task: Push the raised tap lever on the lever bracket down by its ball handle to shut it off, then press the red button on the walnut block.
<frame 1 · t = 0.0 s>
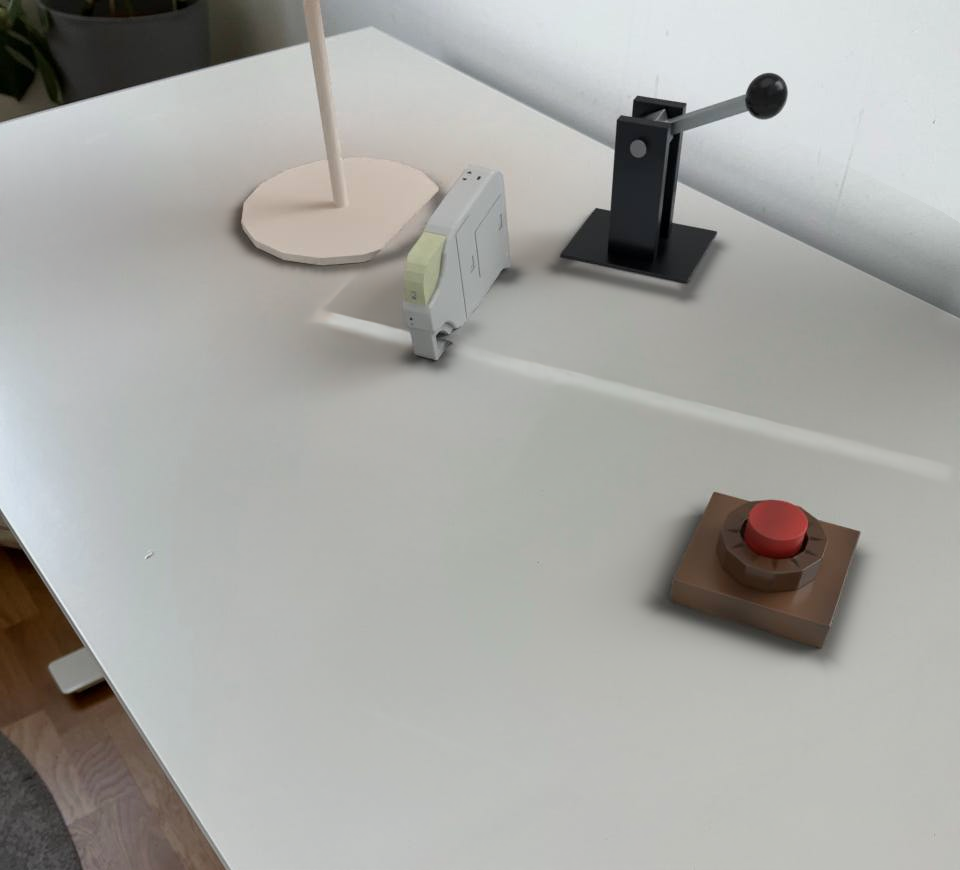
grey clip-foot housing: (461, 318, 86), on the table
desk lamp: (342, 213, 98), on the table
button block: (762, 577, 65), on the table
button: (775, 529, 62), point 4 cm above the table, slide at 0.1 cm
lever bracket: (638, 255, 91), on the table
tap lever: (707, 115, 80), point 13 cm above the table, hinge at 25.0°
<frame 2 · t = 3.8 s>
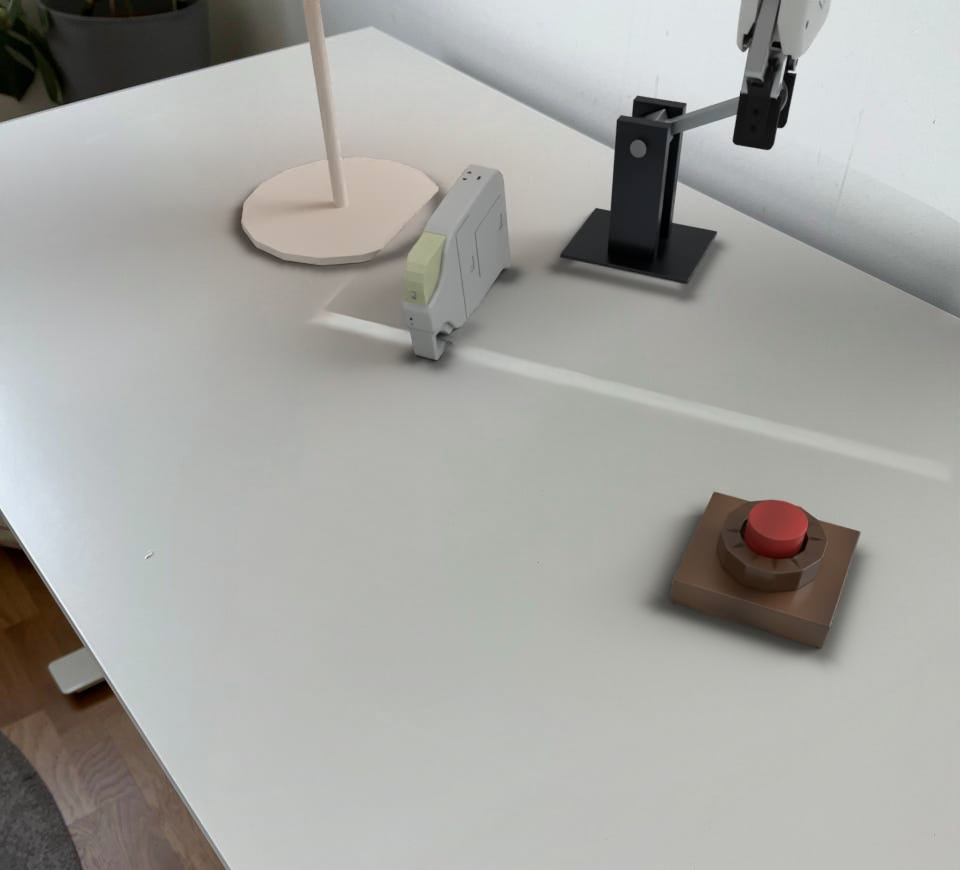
hand: (759, 132, 79), 12 cm above the table, tool pointing down, fingers closed on tap lever, 3 cm apart
tap lever: (707, 115, 80), point 13 cm above the table, hinge at 25.0°, touching gripper
everything else where it was.
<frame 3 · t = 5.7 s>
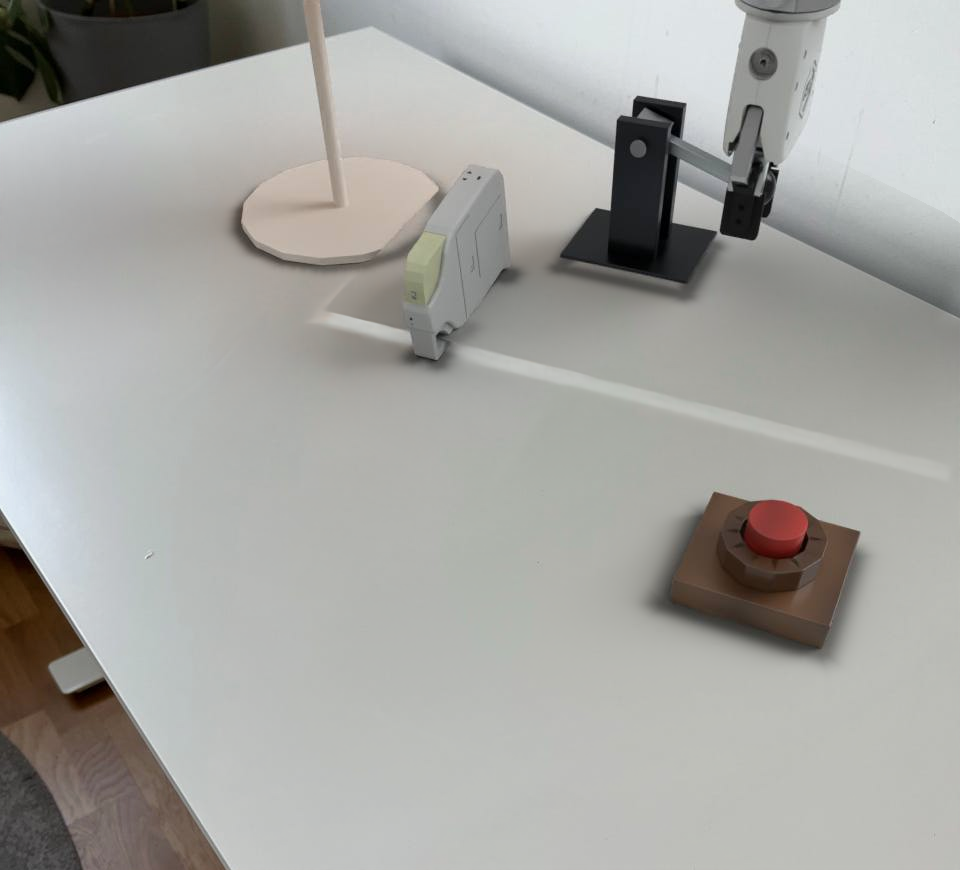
hand: (744, 222, 85), 5 cm above the table, tool pointing down, fingers closed on tap lever, 3 cm apart
tap lever: (703, 160, 82), point 10 cm above the table, hinge at -16.8°, touching gripper
everything else where it was.
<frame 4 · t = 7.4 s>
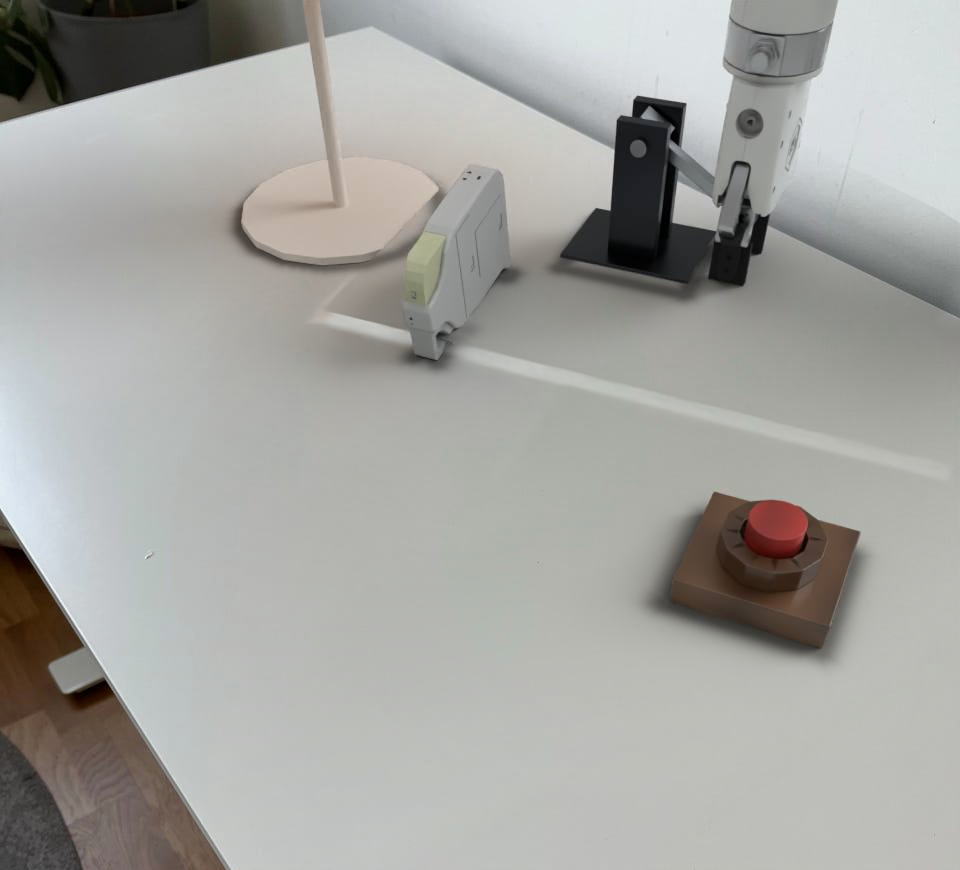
hand: (735, 265, 88), 1 cm above the table, tool pointing down, fingers open, 4 cm apart
tap lever: (696, 173, 83), point 8 cm above the table, hinge at -30.5°
everything else where it was.
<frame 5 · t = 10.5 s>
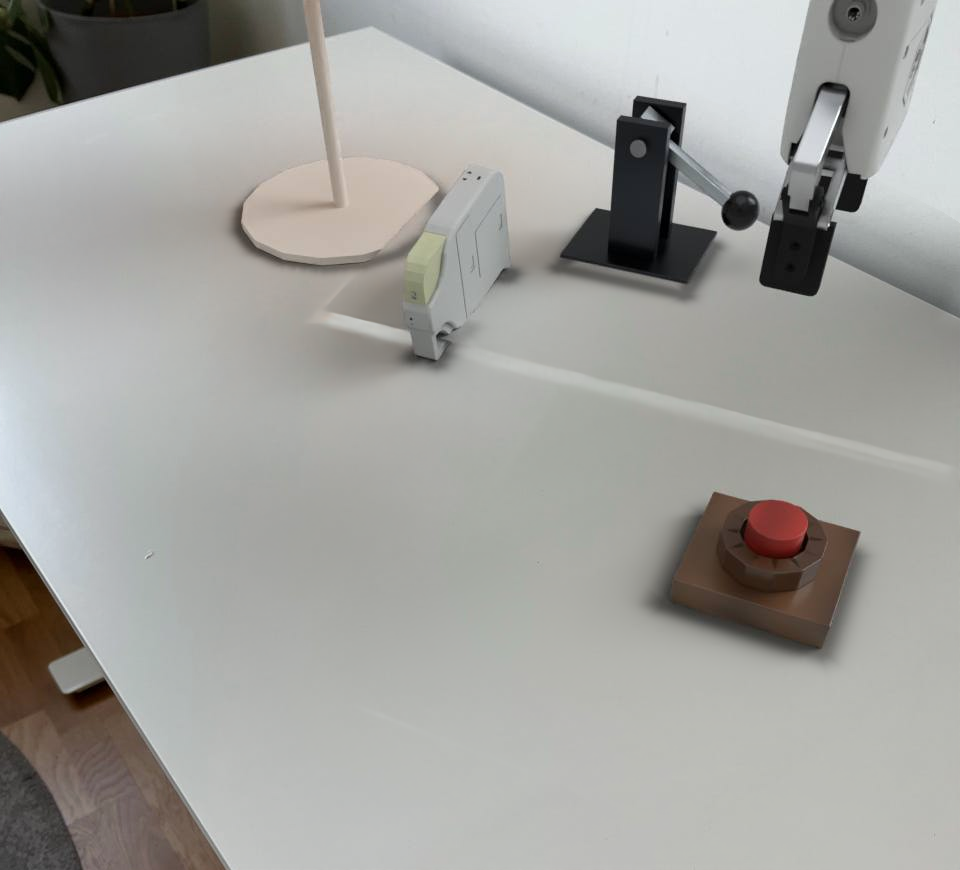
hand: (810, 245, 56), 19 cm above the table, tool pointing down, fingers open, 9 cm apart
nothing on the table moved.
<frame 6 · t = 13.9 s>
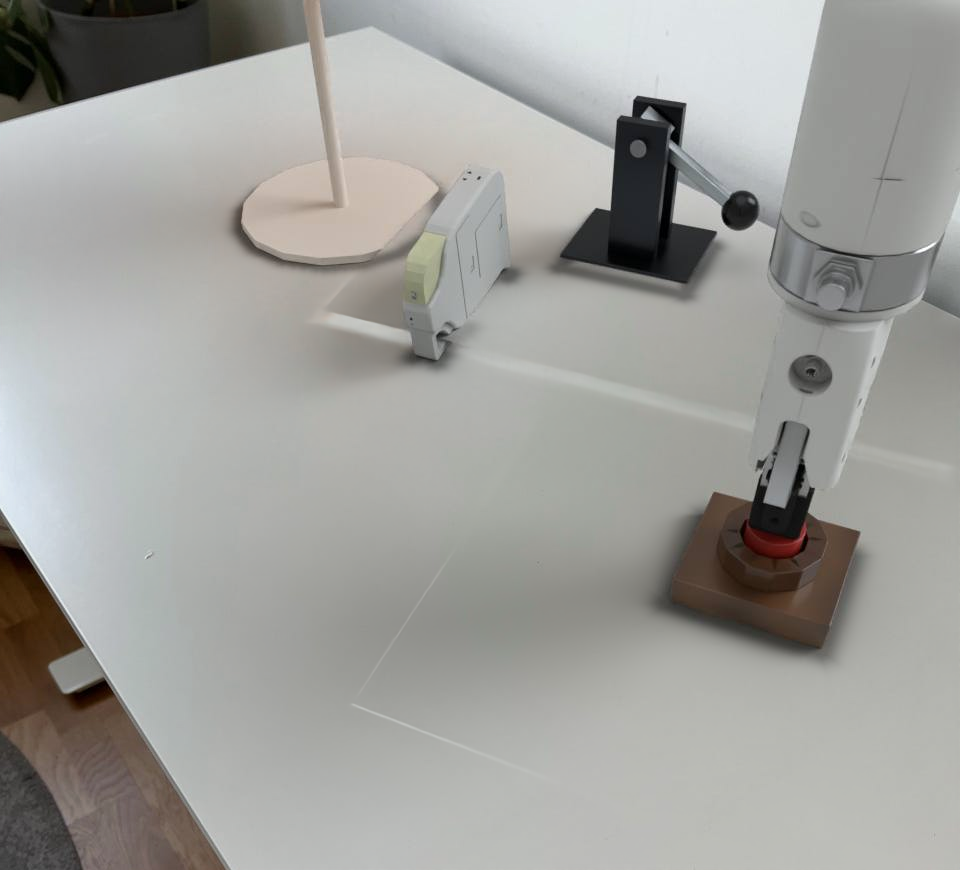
hand: (775, 525, 62), 5 cm above the table, tool pointing down, fingers closed
button: (774, 534, 62), point 4 cm above the table, slide at -0.3 cm, touching gripper
everything else where it was.
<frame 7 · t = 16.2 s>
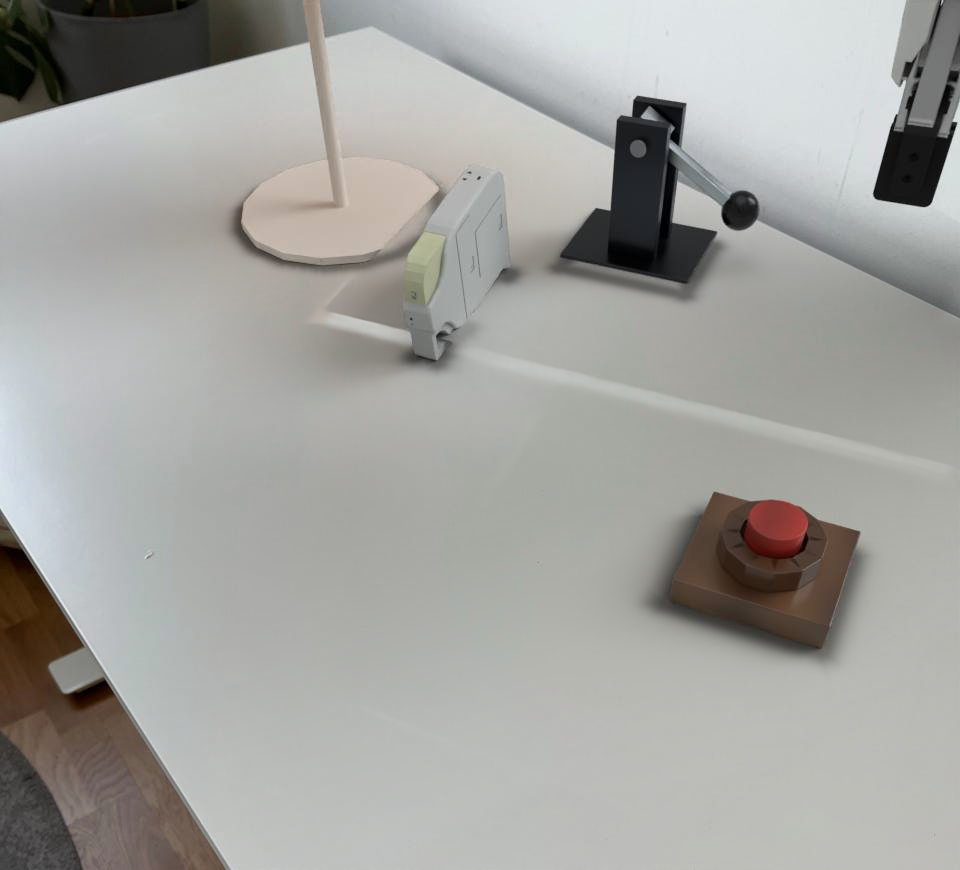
hand: (903, 196, 56), 21 cm above the table, tool pointing down, fingers closed
button: (775, 529, 62), point 4 cm above the table, slide at 0.1 cm
everything else where it was.
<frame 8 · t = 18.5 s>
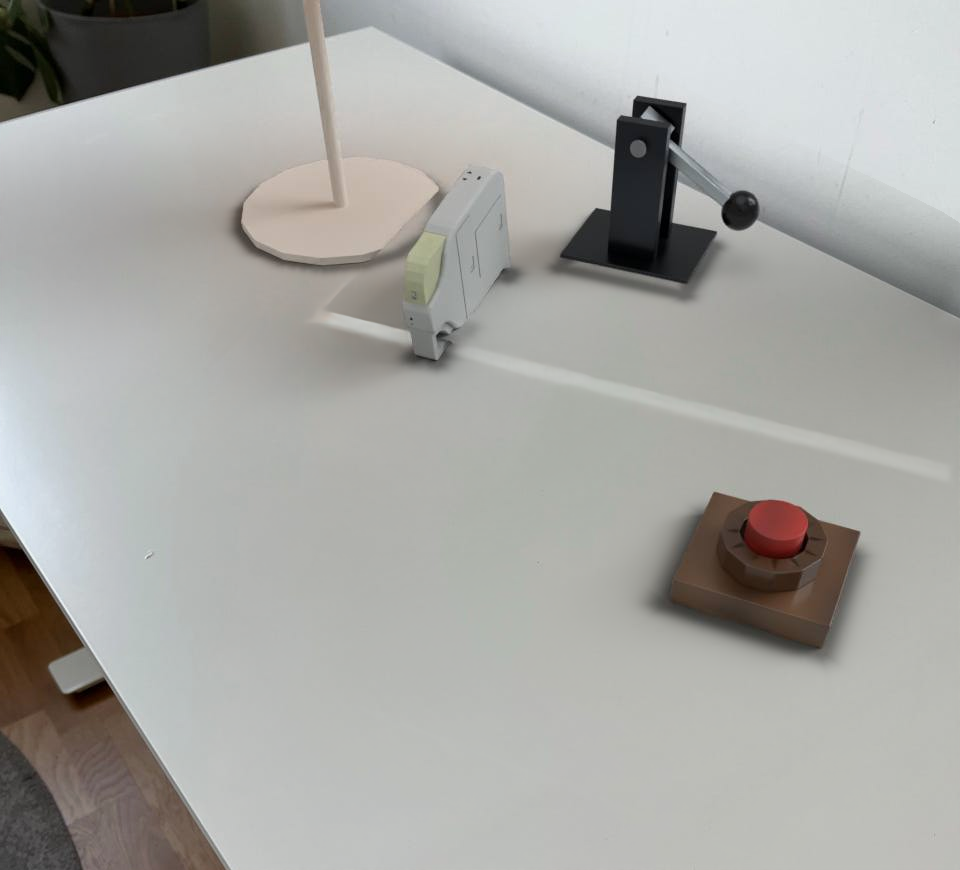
nothing on the table moved.
at the end: tap lever at -30° (first picture: +25°); button pushed in 1.1 cm at the most during the clip, back to where it started at the end; button slide at 0.1 cm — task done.
